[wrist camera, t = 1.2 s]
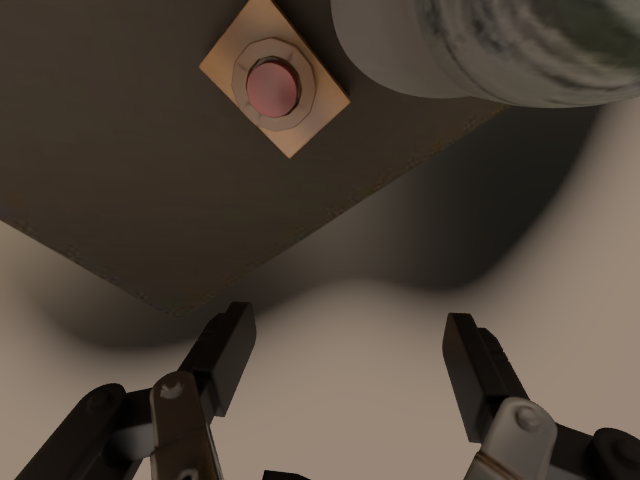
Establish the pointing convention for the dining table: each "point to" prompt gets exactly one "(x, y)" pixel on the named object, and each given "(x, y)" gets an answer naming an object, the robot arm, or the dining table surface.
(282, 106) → the red button
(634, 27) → the grey tall rounded cylinder
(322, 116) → the button box
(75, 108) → the dining table surface
